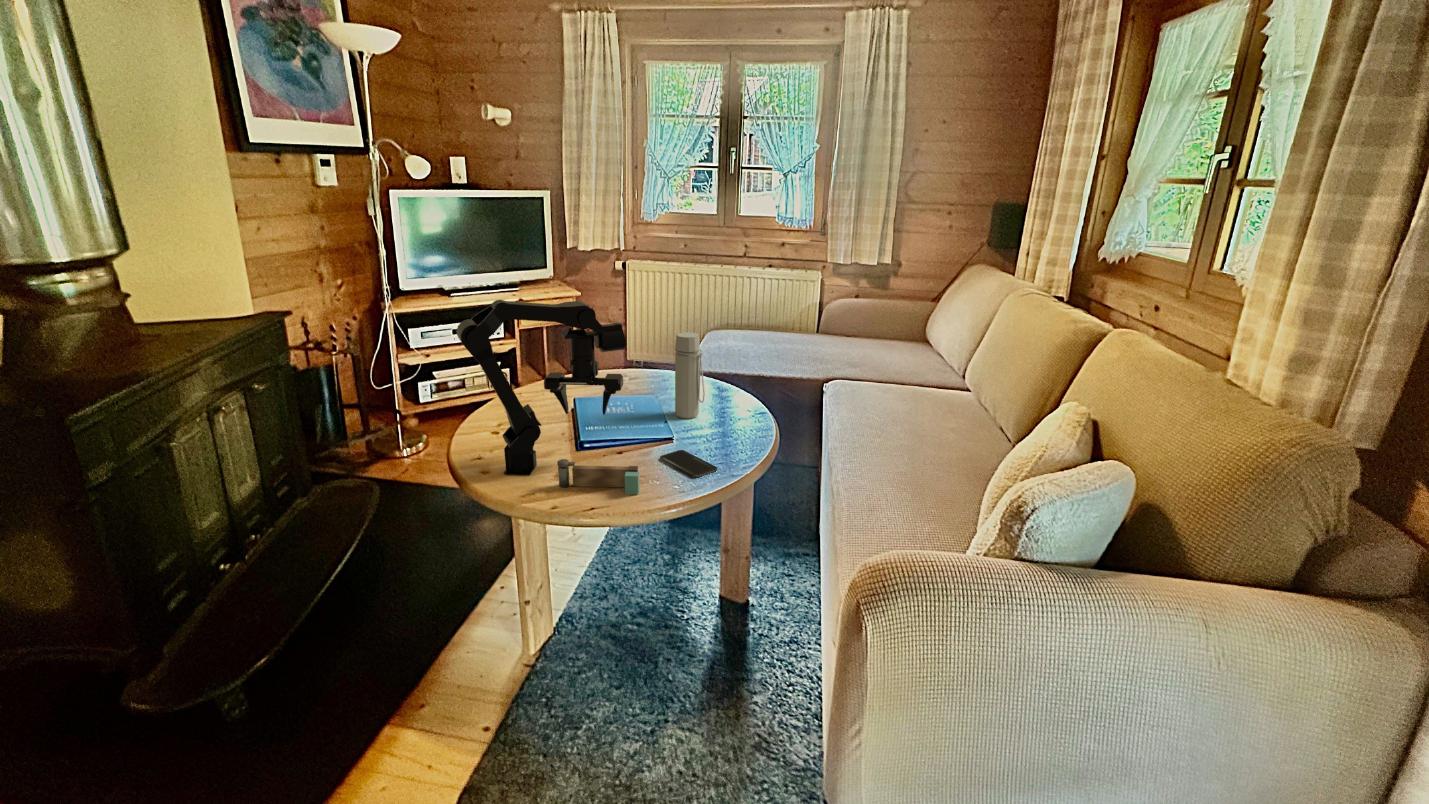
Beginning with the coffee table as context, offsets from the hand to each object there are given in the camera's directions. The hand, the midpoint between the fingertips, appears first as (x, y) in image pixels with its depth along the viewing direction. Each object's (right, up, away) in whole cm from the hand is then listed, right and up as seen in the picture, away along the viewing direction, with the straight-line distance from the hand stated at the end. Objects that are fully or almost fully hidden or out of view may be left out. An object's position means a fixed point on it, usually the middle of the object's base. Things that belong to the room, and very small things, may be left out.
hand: (585, 414), depth 170 cm
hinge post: (-3, -17, -11) cm, 20 cm away
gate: (+5, -17, -11) cm, 21 cm away
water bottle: (+25, -1, +34) cm, 42 cm away
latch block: (+13, -18, -13) cm, 26 cm away
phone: (+26, -13, +1) cm, 29 cm away
